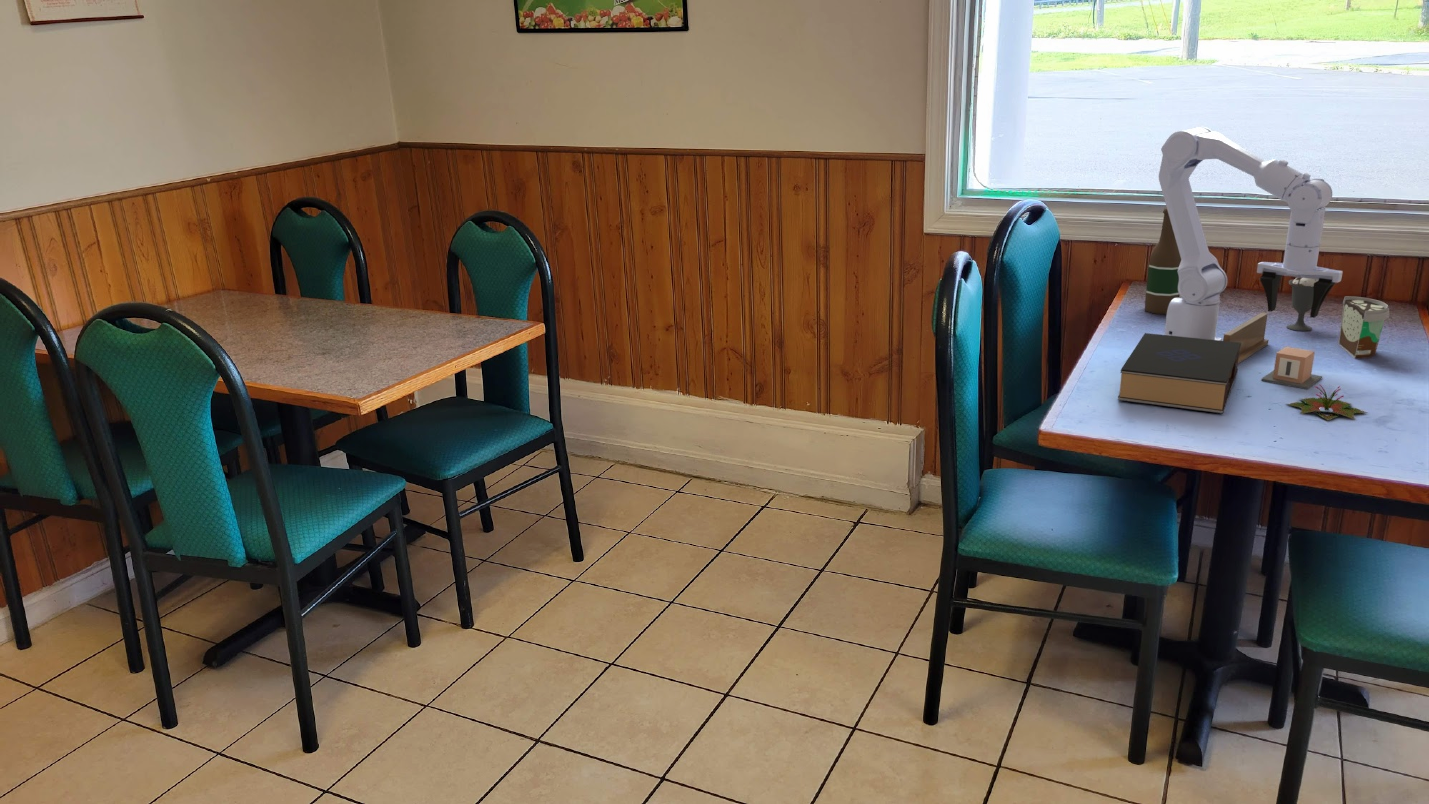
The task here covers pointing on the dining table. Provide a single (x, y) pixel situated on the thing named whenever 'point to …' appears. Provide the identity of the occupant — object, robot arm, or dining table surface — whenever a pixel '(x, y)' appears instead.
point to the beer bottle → (1163, 271)
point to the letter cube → (1293, 364)
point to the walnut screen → (1249, 336)
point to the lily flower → (1327, 406)
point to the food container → (1362, 325)
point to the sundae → (1302, 301)
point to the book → (1180, 372)
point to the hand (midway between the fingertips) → (1292, 313)
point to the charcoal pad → (1304, 385)
